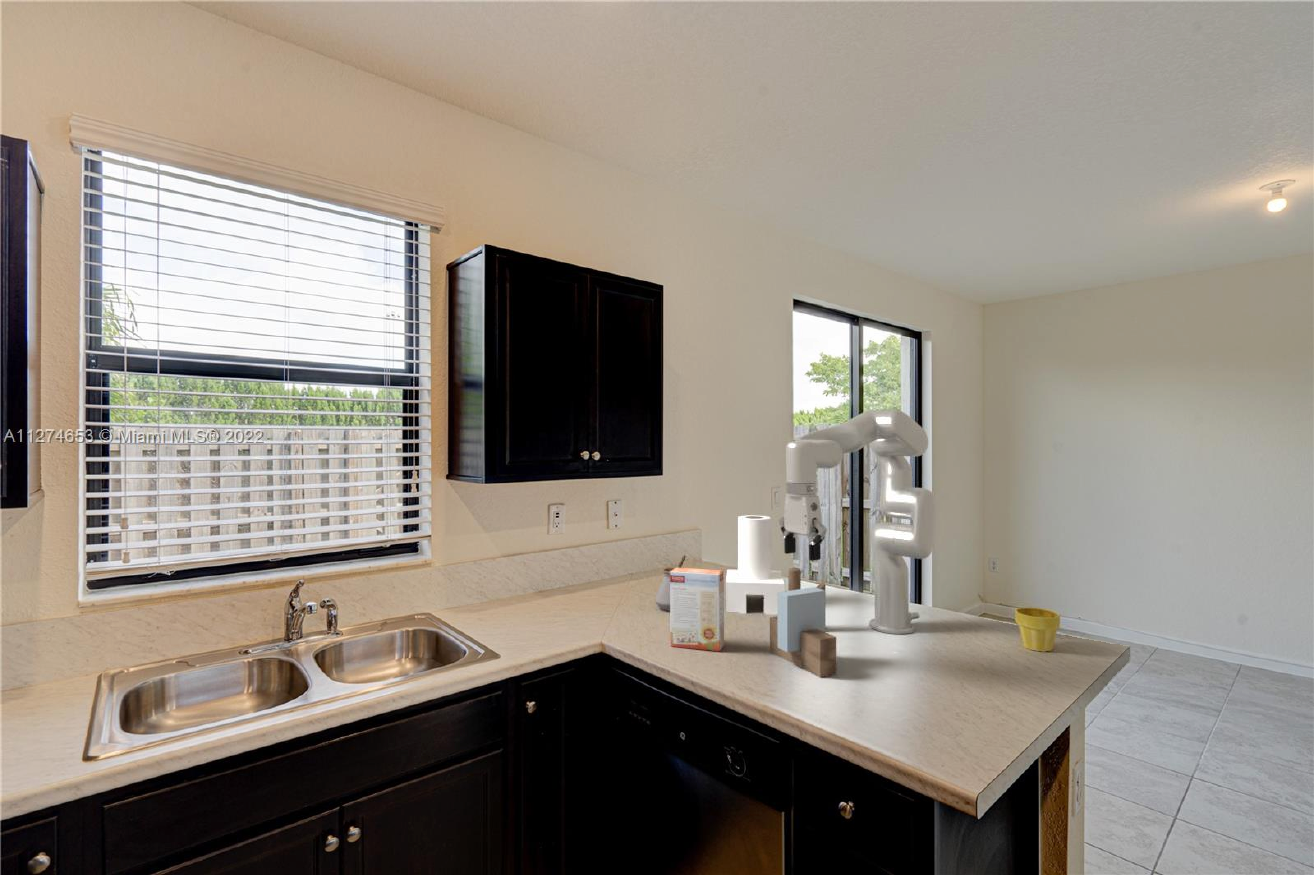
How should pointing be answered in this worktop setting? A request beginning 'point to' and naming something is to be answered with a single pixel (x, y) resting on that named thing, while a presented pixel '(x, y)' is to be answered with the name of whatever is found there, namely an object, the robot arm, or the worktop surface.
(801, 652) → the walnut crosspiece
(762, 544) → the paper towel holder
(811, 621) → the pale blue tall box
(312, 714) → the worktop surface
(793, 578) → the wooden block structure
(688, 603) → the cracker box
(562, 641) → the worktop surface
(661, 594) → the coffee pot
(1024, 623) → the plant pot
